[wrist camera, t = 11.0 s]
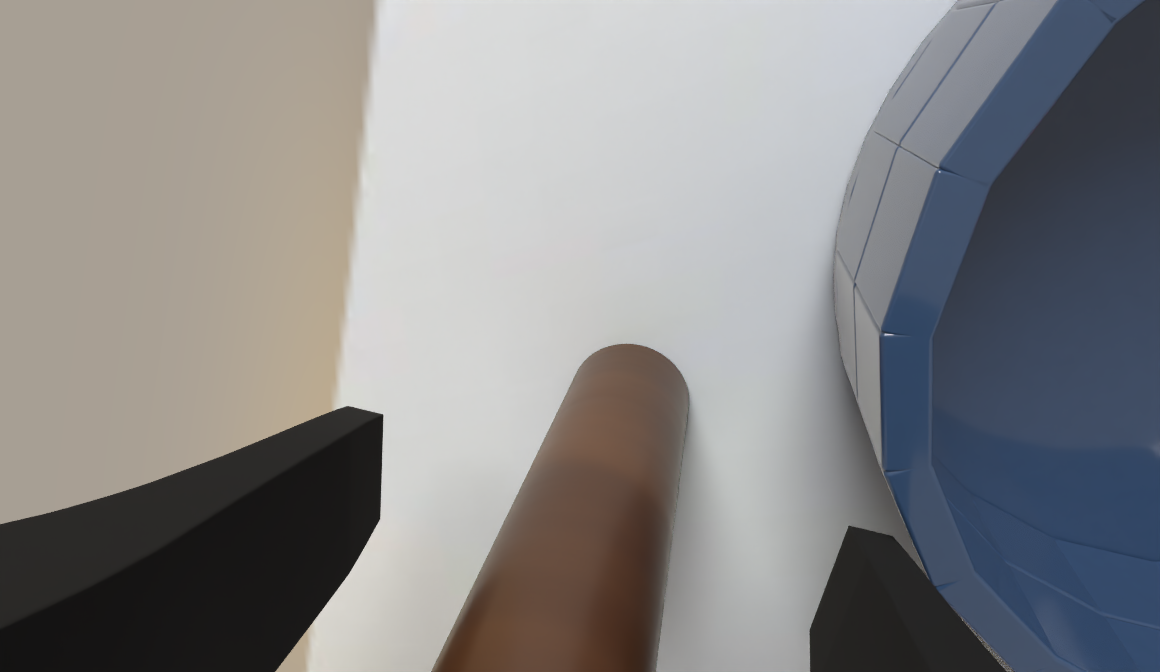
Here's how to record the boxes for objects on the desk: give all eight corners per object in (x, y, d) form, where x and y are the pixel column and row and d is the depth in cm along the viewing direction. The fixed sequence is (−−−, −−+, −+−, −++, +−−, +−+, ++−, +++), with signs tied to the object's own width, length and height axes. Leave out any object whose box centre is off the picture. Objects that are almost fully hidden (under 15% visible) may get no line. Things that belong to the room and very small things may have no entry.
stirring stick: (676, 459, 14) (603, 983, 6) (565, 433, 15) (359, 901, 7) (700, 356, 14) (650, 821, 5) (581, 331, 14) (364, 734, 6)
